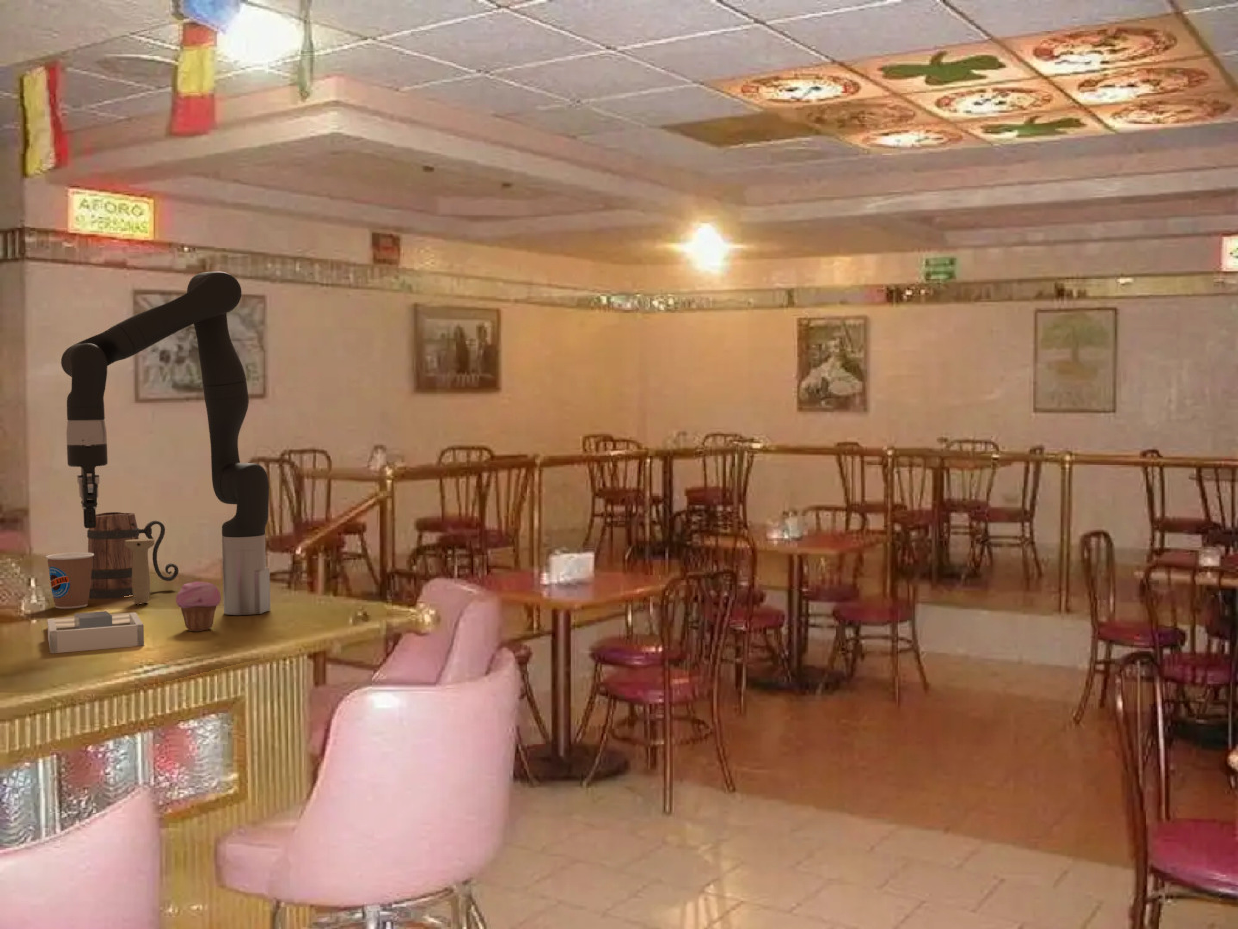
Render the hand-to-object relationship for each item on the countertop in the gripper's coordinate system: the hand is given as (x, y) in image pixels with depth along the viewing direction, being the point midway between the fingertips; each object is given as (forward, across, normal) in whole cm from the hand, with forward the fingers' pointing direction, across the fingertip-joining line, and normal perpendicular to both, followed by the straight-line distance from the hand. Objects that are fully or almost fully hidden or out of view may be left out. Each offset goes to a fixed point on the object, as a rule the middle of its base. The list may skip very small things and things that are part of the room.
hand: (90, 527), depth 259 cm
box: (+21, +12, -1) cm, 24 cm away
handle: (+22, -36, +13) cm, 44 cm away
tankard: (+22, -58, +12) cm, 63 cm away
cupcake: (+22, +8, +20) cm, 30 cm away
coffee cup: (+22, -41, -2) cm, 46 cm away
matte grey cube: (+22, +8, -1) cm, 23 cm away
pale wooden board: (+21, -3, 0) cm, 22 cm away
